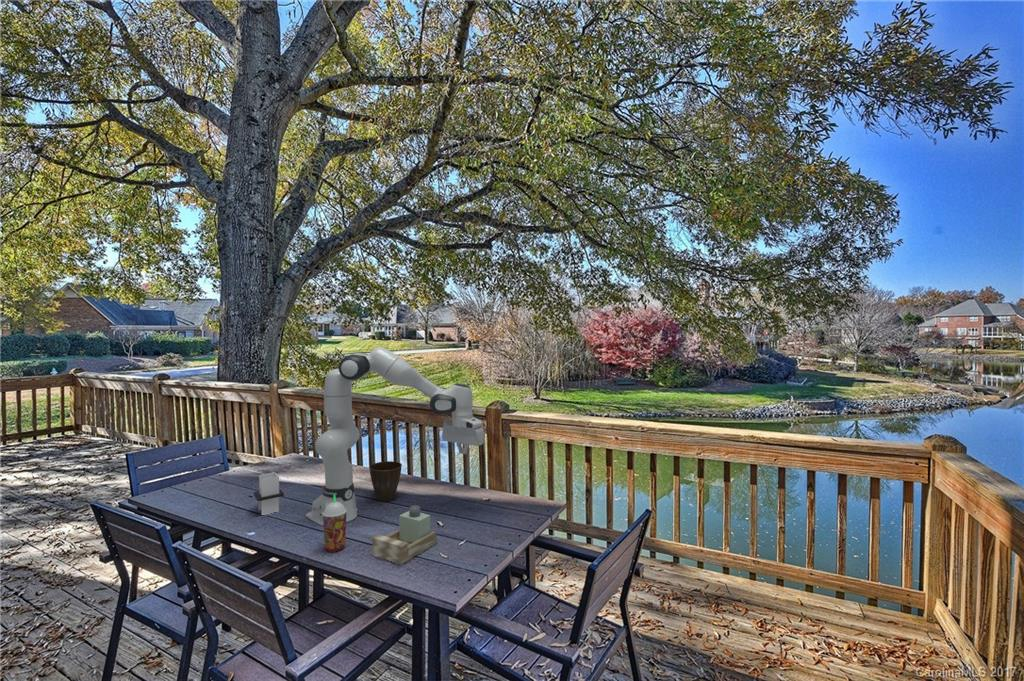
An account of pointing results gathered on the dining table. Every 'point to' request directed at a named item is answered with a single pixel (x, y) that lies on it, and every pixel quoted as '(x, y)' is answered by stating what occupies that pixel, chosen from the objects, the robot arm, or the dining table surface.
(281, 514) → the dining table surface
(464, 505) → the dining table surface
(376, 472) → the plant pot
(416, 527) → the slider
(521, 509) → the dining table surface
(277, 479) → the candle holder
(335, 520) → the smoothie
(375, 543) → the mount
